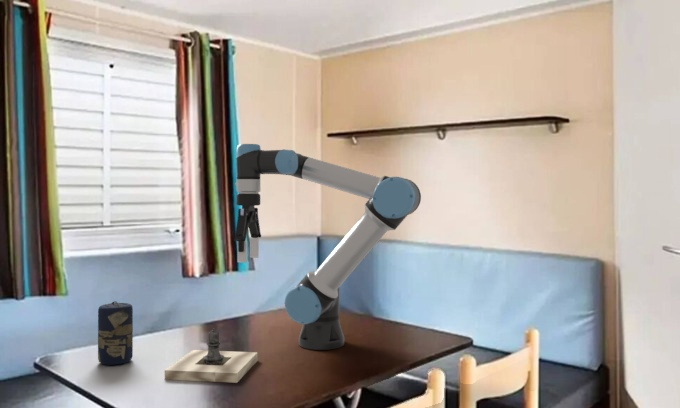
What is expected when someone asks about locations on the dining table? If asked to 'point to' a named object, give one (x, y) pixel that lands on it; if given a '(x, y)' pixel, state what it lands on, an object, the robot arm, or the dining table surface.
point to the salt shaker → (213, 349)
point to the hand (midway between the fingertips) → (248, 260)
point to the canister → (115, 333)
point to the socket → (211, 367)
